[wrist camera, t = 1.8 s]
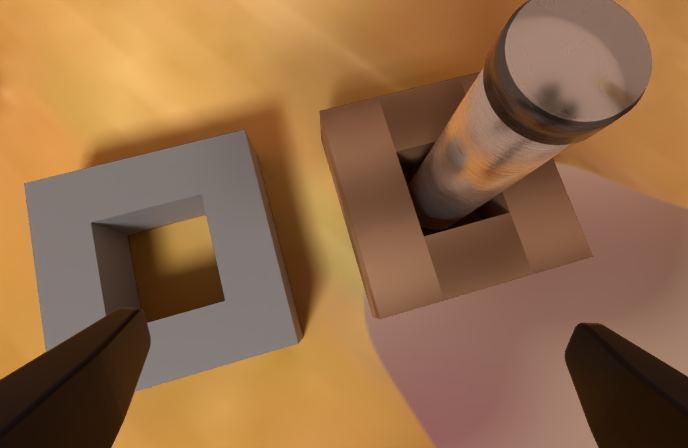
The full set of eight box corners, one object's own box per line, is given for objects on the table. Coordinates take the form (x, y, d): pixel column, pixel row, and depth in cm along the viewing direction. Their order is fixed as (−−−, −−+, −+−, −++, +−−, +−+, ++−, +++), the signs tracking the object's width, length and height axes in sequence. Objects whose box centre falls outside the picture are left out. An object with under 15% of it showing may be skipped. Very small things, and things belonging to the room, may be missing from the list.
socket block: (553, 263, 23) (592, 256, 19) (372, 317, 22) (380, 319, 18) (489, 96, 25) (513, 63, 22) (321, 138, 24) (319, 111, 21)
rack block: (303, 337, 22) (298, 343, 18) (100, 397, 21) (54, 415, 17) (257, 155, 24) (244, 129, 20) (70, 202, 23) (24, 183, 19)
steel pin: (475, 221, 23) (681, 100, 10) (414, 238, 23) (537, 138, 9) (454, 162, 24) (618, -29, 10) (394, 178, 24) (483, 2, 10)
